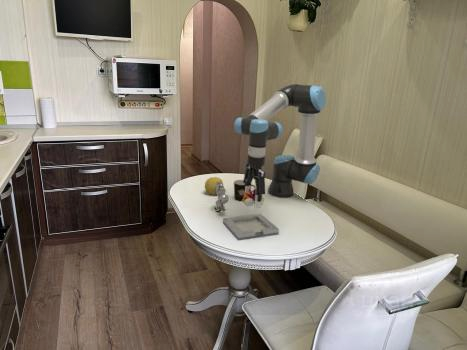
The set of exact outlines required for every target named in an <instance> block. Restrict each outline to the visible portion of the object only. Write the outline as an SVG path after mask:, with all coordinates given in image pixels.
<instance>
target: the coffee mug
mask: <svg viewBox="0 0 467 350" xmlns="http://www.w3.org/2000/svg"><path fill="white" fill-rule="evenodd" d="M243 180H244V179H236V180H234V181H233V190H234V195H233V196H234V200H235V201H237V202H243V201H242V199H243V198H244V195H243V194H244V193H245V183H243ZM249 186H251V187H254V189H256V185H254V184H251V185H249ZM254 189H253V190H251V192H252V193H253V191H254Z"/></svg>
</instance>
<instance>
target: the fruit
mask: <svg viewBox="0 0 467 350" xmlns="http://www.w3.org/2000/svg"><path fill="white" fill-rule="evenodd" d="M216 182H219V183H220V184H222V185H223V186H224V182H223V180H222V178H220V177H218V176H215V177H209V178H208V179H206V181H205V183H204V189H205V191H206V192H207V193H208V194H210V195H212V194H213V195H212V196H217V195H216V189H215V184H216Z"/></svg>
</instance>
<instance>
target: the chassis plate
mask: <svg viewBox="0 0 467 350" xmlns="http://www.w3.org/2000/svg"><path fill="white" fill-rule="evenodd" d="M222 223H223V224H224V225H225V227H226V228H227V229H228V230H229V232H230V233H232V235H233V236H234V237H235V238H236V239H237V241H242V240H249V239H256V238H261V237H270V236H276V235H279V234H280V229H279V228H278V227H277V226H276V225H275V224H274V223H272V222H271V221H270V220H269V219H268V218H267V217H266V216H264V215H263V214H262V213H255V214H246V215H237V216H230V217H229V216H228V217H223V218H222Z"/></svg>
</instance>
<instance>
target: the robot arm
mask: <svg viewBox="0 0 467 350" xmlns="http://www.w3.org/2000/svg"><path fill="white" fill-rule="evenodd" d="M326 96H327V95H326V92H325V90H324V88H323V87H321V86H317V85H312V84H311V85H310V84H309V85H308V84H298V83H295V84H294V83H293V84H289V85H286V86H283V87H282V88H280V89H278V90H277V91H276V92H274V93H273V95H272V97H271V98H269V99H268V100H266V101H265V102H264V103H263V104H261V106H259V107H258V108H256V109H255V110H254V111H253V112H251V113H250V114H249V115H248V116H246V117H237V118H236V119H235V121H234V123H233V126H234V127H233V128H234V131H235V133H237V134H240V135H242V136H243V135H244V136H249V138H248V139H249V140H248V148H247V154H248V155H247V161H246V164H245V165H246V166H245V171H244V172H245V173H244V176H243V179H242V180H243V183H245V193H248V194H250V193H249V189H250V190H251V191H252V186H250V185H252V183H253V181H254V183H255V188H256V191H257V193H256V196H255V204H254V209H261V207H262V206H261V200H262V198H263V197H262V196H263V195H266V178H265V177H266V171H263V170H262V167H264V166H265V162H266V157H265V156H266V152H267V151H266V150H267V143H268V141H270V140H276V139H278V138H280V137H281V136H282V133H283V126H282V125H281V124H280V123H279V122H277V121H272V122H269V120H270V119H271V118H272V117H274V116H275V115H276V114H277V113H278V112H279V111H281V110H283V109H286V108H287V107H295V108H297V112H298V114H300V118H299V122H300V123H299V136H298V137H299V138H298V153H297V155H298V156H297V157H295V155H290V154H288V155H287V154H286V155H285V154H282V155H278V156H275V158H274V161H273V168H272V169H273V170H272V179H271V181H270V184H269V186H268V190H267V193H268V195H270V196H273V197H276V198H291V197H293V196H294V193H295V192H294V187H293V181H296V182H299V183H303V184H308V185H312V184H314V183H315V182H316V180H317V179H318V176H319V174H320V171H321V167H320V164H318V163H317V159H316V158H315V147H316V136H317V135H316V134H317V121H318V115H319V114H321V111H322V110H323V109H324V108H325V105H326V101H327V97H326Z"/></svg>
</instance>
